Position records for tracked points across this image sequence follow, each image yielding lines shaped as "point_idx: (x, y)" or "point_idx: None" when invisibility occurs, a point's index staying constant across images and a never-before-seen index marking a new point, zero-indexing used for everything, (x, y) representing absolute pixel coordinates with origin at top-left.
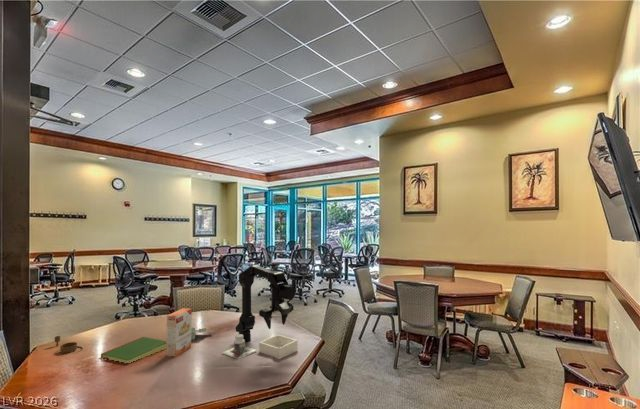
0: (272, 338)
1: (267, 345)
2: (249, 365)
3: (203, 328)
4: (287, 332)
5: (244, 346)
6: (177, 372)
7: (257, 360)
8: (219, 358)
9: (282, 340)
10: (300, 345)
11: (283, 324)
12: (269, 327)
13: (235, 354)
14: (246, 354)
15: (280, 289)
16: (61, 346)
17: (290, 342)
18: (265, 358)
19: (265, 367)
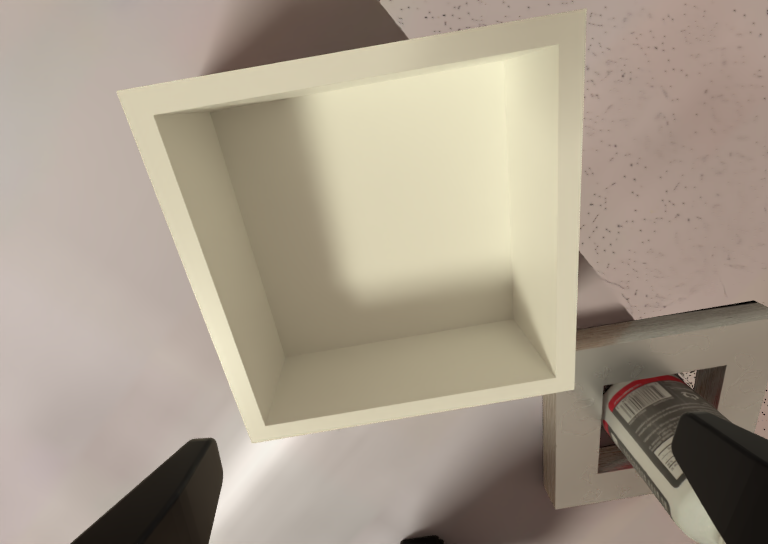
0: (362, 401)
1: (575, 259)
2: (765, 175)
3: None
4: (45, 512)
5: (670, 428)
6: None
7: (643, 212)
8: (760, 434)
9: (254, 331)
10: (74, 196)
11: (215, 449)
12: (759, 443)
13: (727, 391)
14: (683, 333)
15: None
16: None
17: (210, 207)
18: None
19: (733, 5)
